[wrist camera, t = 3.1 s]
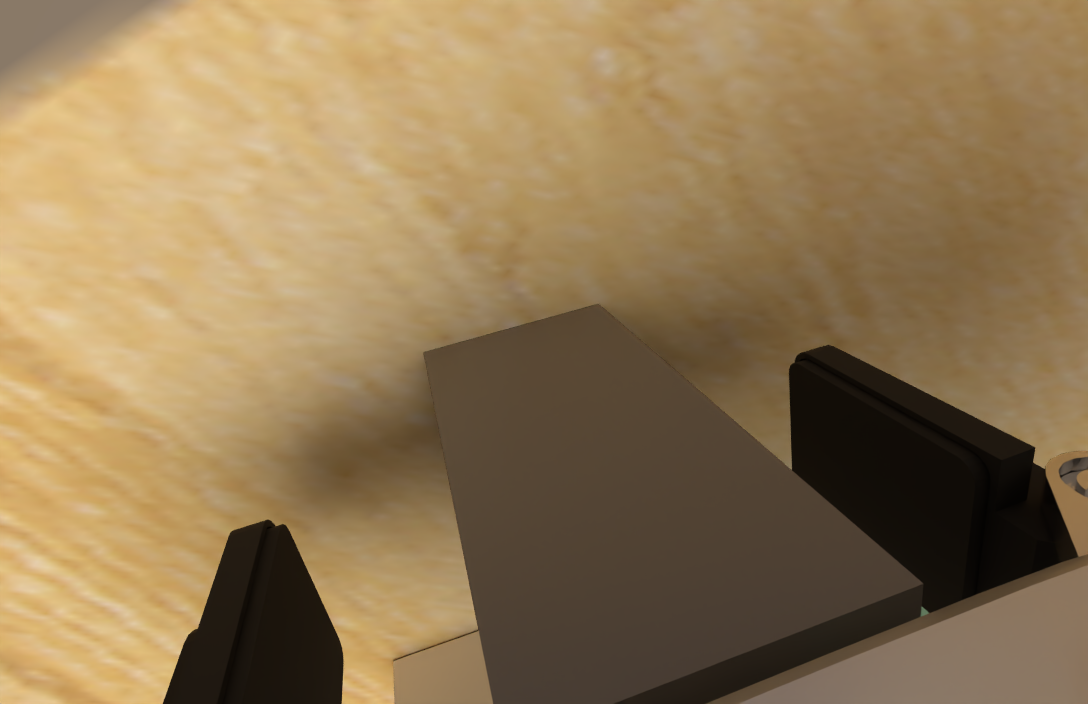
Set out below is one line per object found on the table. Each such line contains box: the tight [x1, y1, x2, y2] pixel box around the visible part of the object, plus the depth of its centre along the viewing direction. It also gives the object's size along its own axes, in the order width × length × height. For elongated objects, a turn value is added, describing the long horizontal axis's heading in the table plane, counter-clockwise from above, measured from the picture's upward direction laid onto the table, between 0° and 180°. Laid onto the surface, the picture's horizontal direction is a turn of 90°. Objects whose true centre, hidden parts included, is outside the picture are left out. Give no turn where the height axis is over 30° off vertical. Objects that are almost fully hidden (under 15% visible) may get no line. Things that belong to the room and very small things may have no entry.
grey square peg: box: [424, 304, 923, 704], centre depth 10 cm, size 4×4×9 cm
